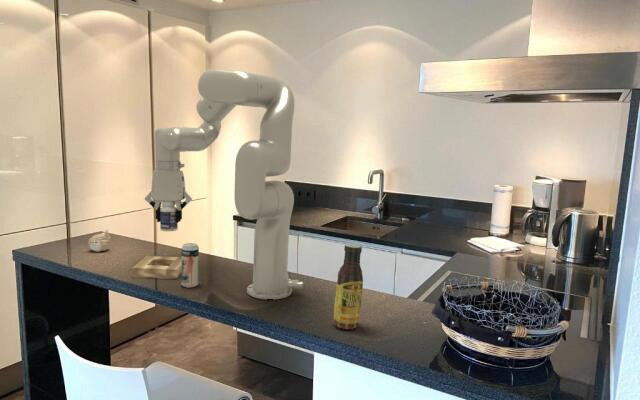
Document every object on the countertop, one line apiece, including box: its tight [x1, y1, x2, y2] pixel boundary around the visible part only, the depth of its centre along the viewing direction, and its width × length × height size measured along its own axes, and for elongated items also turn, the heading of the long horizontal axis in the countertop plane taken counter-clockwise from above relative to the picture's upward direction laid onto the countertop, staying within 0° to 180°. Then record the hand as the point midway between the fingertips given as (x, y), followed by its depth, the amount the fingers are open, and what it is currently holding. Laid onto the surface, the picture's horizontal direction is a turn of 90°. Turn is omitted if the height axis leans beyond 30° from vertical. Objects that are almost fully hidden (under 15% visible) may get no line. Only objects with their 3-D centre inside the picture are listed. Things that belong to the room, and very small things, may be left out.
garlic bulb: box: [87, 228, 111, 253], centre depth 165 cm, size 7×6×8 cm
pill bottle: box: [159, 201, 179, 232], centre depth 155 cm, size 5×5×10 cm
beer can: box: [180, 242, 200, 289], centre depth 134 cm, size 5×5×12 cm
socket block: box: [131, 255, 182, 280], centre depth 146 cm, size 13×13×3 cm
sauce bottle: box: [333, 243, 364, 330], centre depth 112 cm, size 7×6×20 cm
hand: (168, 221), depth 155 cm, fingers closed on pill bottle, 5 cm apart
